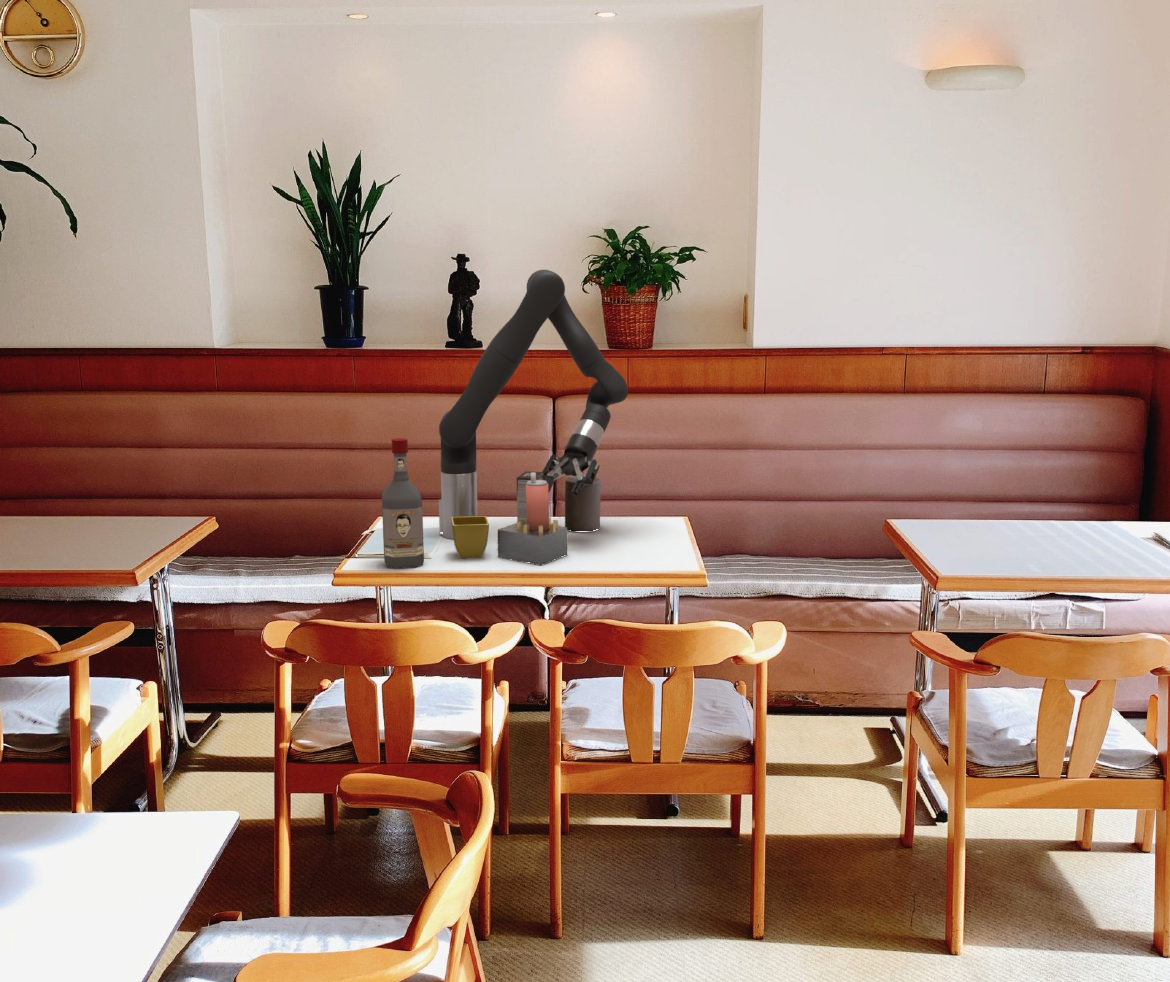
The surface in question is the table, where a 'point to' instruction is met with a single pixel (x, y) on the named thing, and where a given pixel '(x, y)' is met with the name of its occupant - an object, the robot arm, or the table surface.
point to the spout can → (537, 503)
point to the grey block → (532, 542)
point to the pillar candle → (582, 506)
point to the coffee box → (524, 492)
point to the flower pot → (470, 535)
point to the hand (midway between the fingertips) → (559, 493)
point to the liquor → (402, 515)
